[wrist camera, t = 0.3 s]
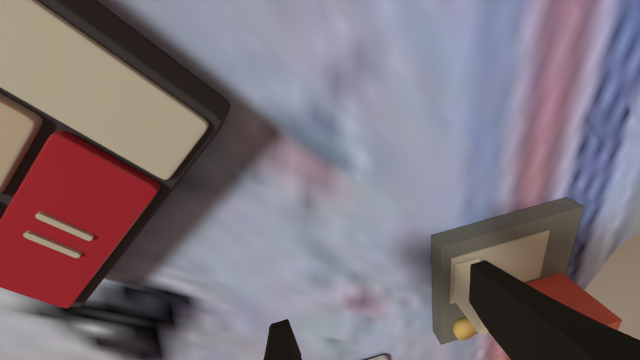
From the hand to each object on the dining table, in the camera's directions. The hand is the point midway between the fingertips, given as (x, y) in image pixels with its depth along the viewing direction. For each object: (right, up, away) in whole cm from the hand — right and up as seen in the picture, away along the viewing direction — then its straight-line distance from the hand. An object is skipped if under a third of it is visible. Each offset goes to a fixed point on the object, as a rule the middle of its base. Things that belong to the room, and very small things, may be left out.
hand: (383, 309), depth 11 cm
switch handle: (+9, -3, +13) cm, 16 cm away
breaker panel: (+13, -3, +16) cm, 21 cm away
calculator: (-16, +7, +5) cm, 19 cm away
